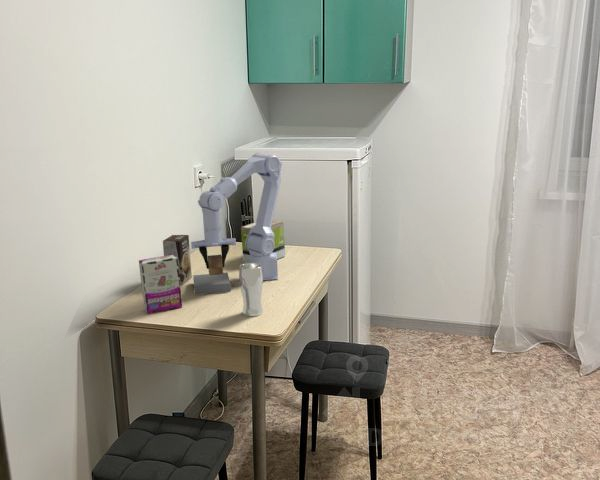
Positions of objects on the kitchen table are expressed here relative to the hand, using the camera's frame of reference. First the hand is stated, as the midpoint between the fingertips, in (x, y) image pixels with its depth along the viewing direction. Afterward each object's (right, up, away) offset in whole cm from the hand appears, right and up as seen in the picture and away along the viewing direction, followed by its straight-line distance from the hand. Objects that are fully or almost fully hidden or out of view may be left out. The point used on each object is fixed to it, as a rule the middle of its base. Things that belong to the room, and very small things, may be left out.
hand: (215, 267), depth 197 cm
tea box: (+14, +1, +36) cm, 39 cm away
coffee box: (-15, -6, +13) cm, 21 cm away
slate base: (-2, -7, +6) cm, 9 cm away
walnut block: (0, -2, 0) cm, 2 cm away
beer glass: (+14, -13, -18) cm, 26 cm away
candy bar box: (-15, -13, -12) cm, 23 cm away
